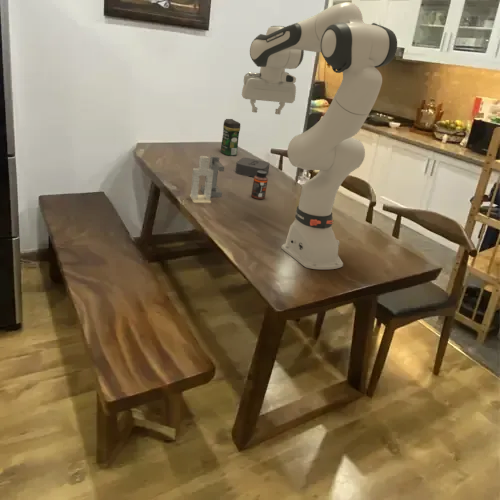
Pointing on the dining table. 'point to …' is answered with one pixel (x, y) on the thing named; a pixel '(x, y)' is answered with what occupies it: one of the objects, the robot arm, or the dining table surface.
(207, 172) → the pale upright frame
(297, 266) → the dining table surface
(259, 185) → the supplement bottle
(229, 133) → the coffee jar
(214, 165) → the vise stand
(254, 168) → the streaming box
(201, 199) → the felt pad
